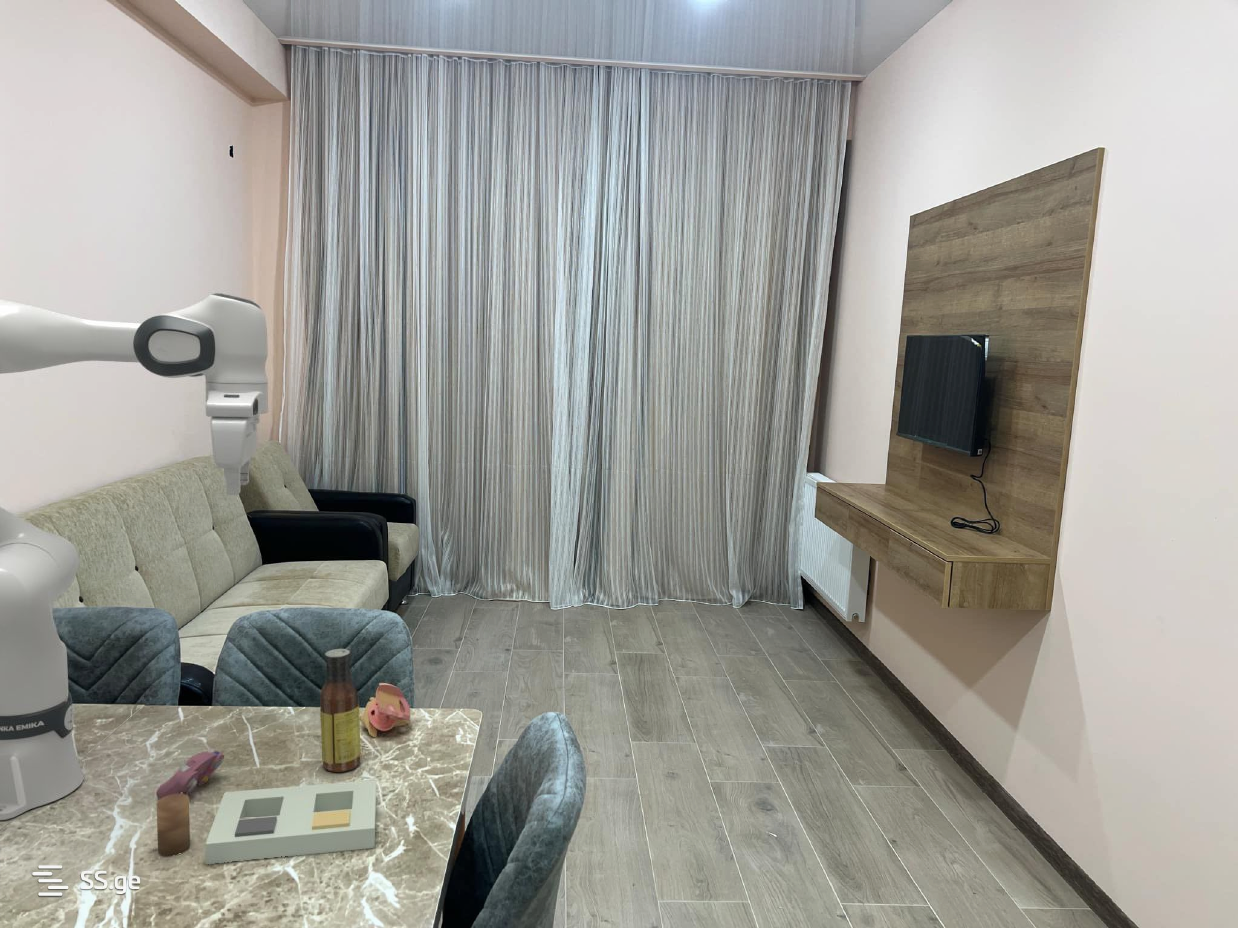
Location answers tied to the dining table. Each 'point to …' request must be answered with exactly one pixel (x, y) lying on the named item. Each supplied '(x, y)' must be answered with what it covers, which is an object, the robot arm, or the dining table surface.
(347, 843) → the socket block
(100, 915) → the dining table surface
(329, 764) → the sauce bottle
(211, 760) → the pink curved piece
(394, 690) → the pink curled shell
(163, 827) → the plug
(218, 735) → the dining table surface
